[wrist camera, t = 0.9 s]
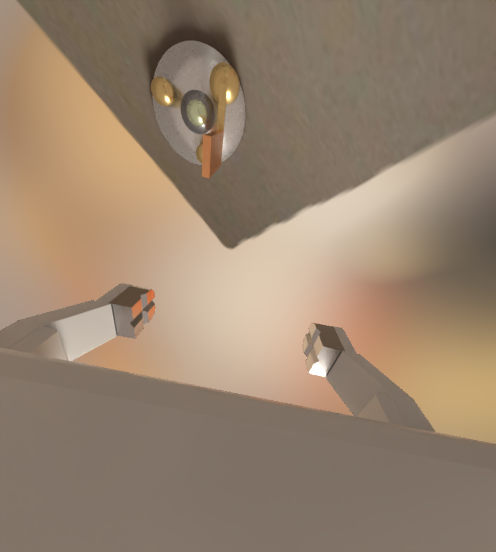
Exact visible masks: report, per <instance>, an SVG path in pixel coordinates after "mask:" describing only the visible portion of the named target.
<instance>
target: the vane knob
mask: <svg viewBox="0 0 496 552" xmlns="http://www.w3.org/2000/svg"><path fill="white" fill-rule="evenodd" d="M209 85H210V90H211V93H212V95H213V97H214V98H215V100H216V101H217V102H219V104H218V120H217V130H215V131H212V132H209V133H206V134H203V152H202V177H206V178H210V177H211V176H212V175H213V173H214V172H215V171H216V170H217V169H218V168H219V167H220V165H221V161H222V149H223V137H224V125H225V113H226V105H229V104H232V103H233V102H234V101H235V100H236V99H237V97H238V94H239V90H240V82H239V78H238V75H237V73H236V71H235V70H234V69H233V67H232V66H231V65H229V64H228V63H224V62H222V63H218V64H217V65H215V66H214V68H213V69H212V71H211V74H210V79H209Z"/></svg>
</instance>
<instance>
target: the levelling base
mask: <svg viewBox="0 0 496 552" xmlns="http://www.w3.org/2000/svg"><path fill="white" fill-rule="evenodd" d="M222 62H224V63H228V61H227V60H226V59H225V58H224V57H223V56H222V55H221V54H220V53H219V52H218V51H217V50H215V49H214V48H213V47H211V46H209V45H207V44H205V43H202V42H199V41H183V42H179V43H177V44H175V45H173V46H172V47H171V48H170V49H168V50H167V51H166V53H165V54H164V55H163V56H162V58H161V59H160V61H159V63H158V65H157V68H156V71H155V74H154V79H153V80H152V82H151V92H152V98H153V106H154V112H155V116H156V119H157V122H158V125H159V127H160V129H161V131H162V133H163V135H164V137H165V139H166V140H167V141H168V143H169V144H170V146H171V147H172V148H173V149H174V150H175V151H176V152H177V153H178V154H179V155H180V156H182V157H183V158H185V159H186V160H188V161H190V162H192V163H194V164H198V165H202V152H203V134H206V133H209V132H212V131H215V130H217V120H218V104H219V102H217V101H216V100H215V98H214V97H213V95H212V93H211V90H210V85H209V79H210V74H211V71H212V69H213V68H214V66H215V65H217V64H218V63H222ZM228 64H229V63H228ZM229 65H230V64H229ZM245 121H246V107H245V99H244V94H243V90H242V87H241V84H240V90H239V94H238V97H237V99H236V100H235V101H234V102H233V103H232V104H229V105H226V113H225V125H224V137H223V149H222V161H221V162H223V161H224V160H226V159H227V158H228V157H229V156H230V155H231V154H232V153H233V152H234V151H235V149H236V148H237V146H238V145H239V143H240V141H241V138H242V135H243V132H244V128H245Z"/></svg>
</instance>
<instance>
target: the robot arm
mask: <svg viewBox="0 0 496 552" xmlns="http://www.w3.org/2000/svg"><path fill="white" fill-rule="evenodd" d="M154 297H155V295H154V291H153V290H151V289H147V288H143V287H138V286H133V285H129V284H124V283H122V284H119V285H118V286H116V287H115V288H113V289H112V290H110V291H109V292H108V293H106V294H105V295H103V296H102V297H101V298H99V299H98V300H96V301H94V300H91V301H88V302H84V303H80V304H77V305H73V306H69V307H66V308H62V309H58V310H55V311H51V312H47V313H43V314H40V315H36V316H33V317H29V318H25V319H21V320H18V321H16V322H15V323H13V324H11V325H9V326H8V327H6V328H4V329H2V330H1V331H0V552H496V444H493V443H488V442H483V441H477V440H472V439H467V438H462V437H457V436H452V435H447V434H441V433H437V432H435V430H434V429H433V428H432V426H431V424H430V423H429V421H428V420H427V418H426V417H425V416H424V414H423V413H422V411H421V410H420V408H419V407H418V405H417V404H416V402H415V401H414V400H413V398H411V397H410V396H409V395H408V394H407V393H405V392H404V391H403V390H402V389H400V388H399V387H398V386H397V385H396V384H395V383H393V382H392V381H391V380H390V379H389V378H387V377H386V376H385V375H384V374H382V373H381V372H380V371H379V370H378V369H377V368H376V367H374V366H373V365H372V364H371V363H369V362H368V361H367V360H366V359H365V358H364V357H362V356H361V355H360V354H357V353H356V352H355V350H354V348H353V346H352V344H351V342H350V341H349V339H348V337H347V335H346V333H345V331H344V330H343V329H342V328H339V327H333V326H326V325H321V324H316V323H312V324H311V325H310V327H309V331H310V333H308V334H306V335H305V338H304V341H303V351H304V354H305V355H306V356H307V359H306V364H307V368H308V372H309V373H310V374H315V375H319V376H323V377H326V379H327V380H328V381H329V383H330V384H331V385H332V387H333V388H334V390H335V391H336V392H337V394H338V395H339V396H340V398H341V399H342V400H343V401H344V403H345V404H346V406H347V407H348V408H349V409H350V411H351V412H352V414H353V415H354V416H349V415H344V414H339V413H334V412H329V411H324V410H319V409H314V408H309V407H303V406H298V405H293V404H288V403H283V402H278V401H273V400H268V399H262V398H257V397H252V396H247V395H242V394H237V393H231V392H227V391H222V390H216V389H211V388H206V387H200V386H196V385H191V384H186V383H181V382H176V381H170V380H165V379H160V378H155V377H150V376H145V375H140V374H135V373H129V372H124V371H119V370H114V369H109V368H104V367H99V366H94V365H88V364H83V363H78V362H73V361H72V360H74V359H76V358H78V357H79V356H81V355H83V354H85V353H87V352H89V351H91V350H92V349H94V348H96V347H98V346H100V345H102V344H103V343H105V342H107V341H109V340H111V339H113V338H115V337H117V336H123V337H129V338H136V337H137V336H138V335H139V333H140V332H141V331H142V330H143V329H144V328H143V324H145V323H147V322H149V321H150V320H151V319H152V317H153V314H154V311H155V303H154V302H153V301H152V299H153V298H154Z"/></svg>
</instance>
